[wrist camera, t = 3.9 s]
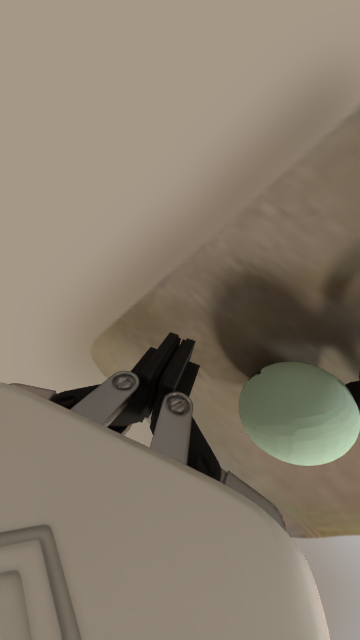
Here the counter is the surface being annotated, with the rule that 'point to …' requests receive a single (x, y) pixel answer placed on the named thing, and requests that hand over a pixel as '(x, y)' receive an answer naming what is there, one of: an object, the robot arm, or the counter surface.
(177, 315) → the counter surface
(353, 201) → the counter surface
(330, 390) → the toy
